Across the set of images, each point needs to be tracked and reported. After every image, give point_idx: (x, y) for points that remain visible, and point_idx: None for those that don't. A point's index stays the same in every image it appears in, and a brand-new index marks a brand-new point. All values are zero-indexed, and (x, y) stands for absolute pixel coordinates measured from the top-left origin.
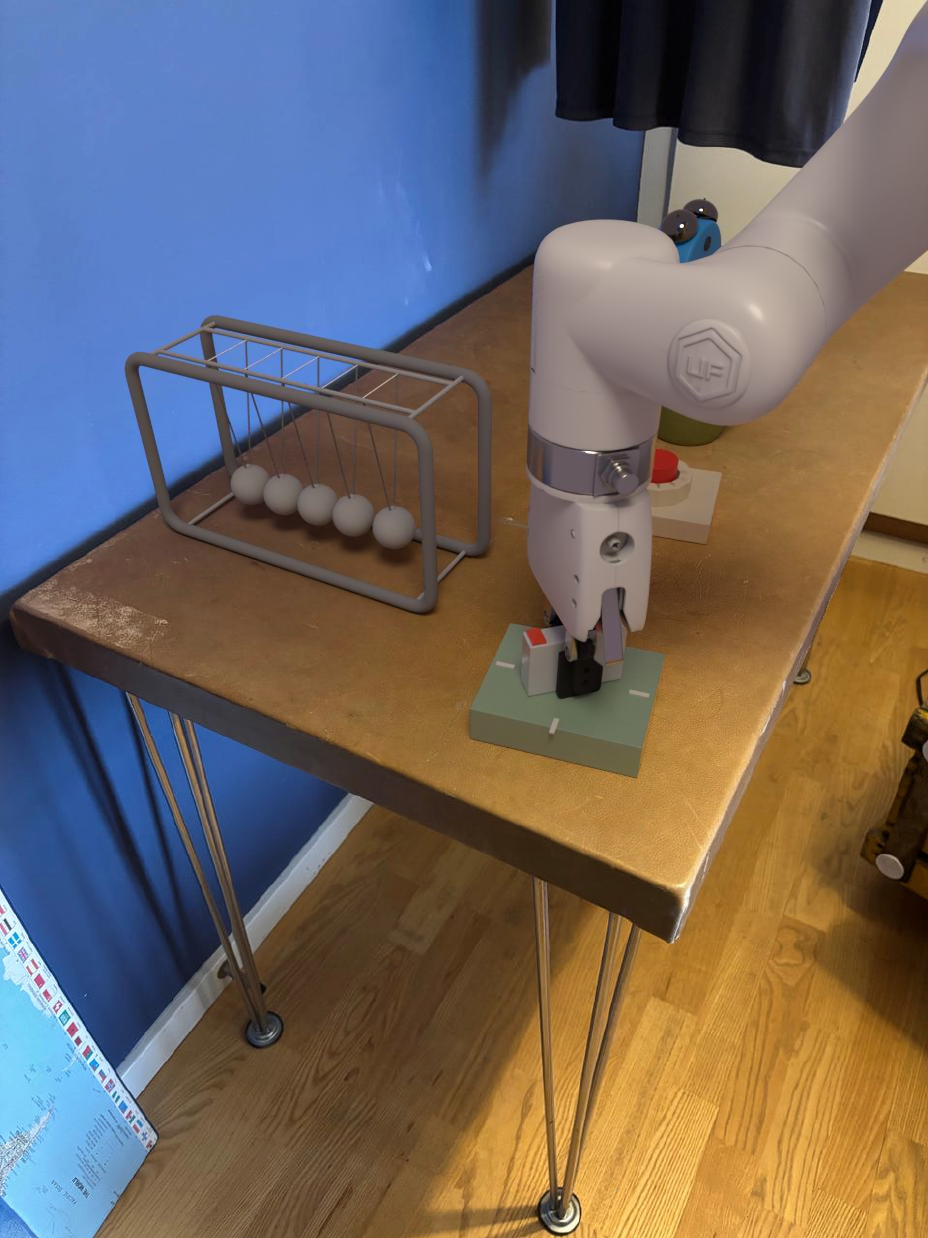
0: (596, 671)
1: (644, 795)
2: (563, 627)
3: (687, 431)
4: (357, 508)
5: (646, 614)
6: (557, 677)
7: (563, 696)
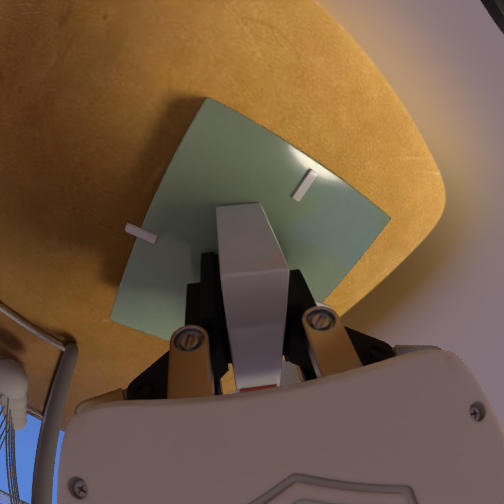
0: (309, 291)
1: (382, 196)
2: (241, 366)
3: None
4: (13, 404)
5: (476, 380)
6: None
7: None
